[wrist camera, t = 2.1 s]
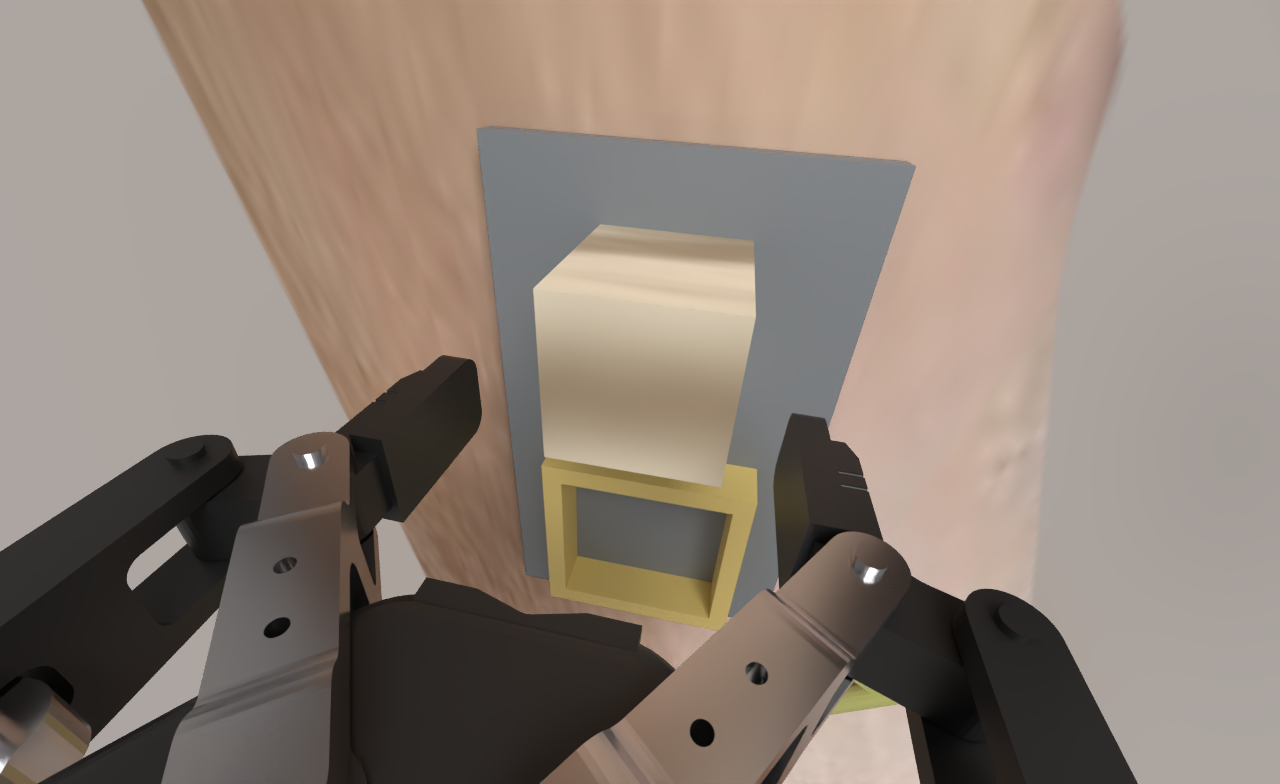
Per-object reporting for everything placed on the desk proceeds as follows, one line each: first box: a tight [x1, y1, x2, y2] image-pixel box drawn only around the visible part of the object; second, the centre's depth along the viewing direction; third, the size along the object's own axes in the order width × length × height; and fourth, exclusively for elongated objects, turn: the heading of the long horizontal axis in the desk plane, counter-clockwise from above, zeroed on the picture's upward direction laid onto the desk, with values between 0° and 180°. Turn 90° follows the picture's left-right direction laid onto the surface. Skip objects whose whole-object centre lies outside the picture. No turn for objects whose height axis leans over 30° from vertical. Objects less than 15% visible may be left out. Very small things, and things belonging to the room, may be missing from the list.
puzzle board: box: [476, 126, 916, 631], centre depth 20 cm, size 22×13×3 cm, turn 177°
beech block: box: [533, 224, 756, 487], centre depth 15 cm, size 5×5×6 cm
